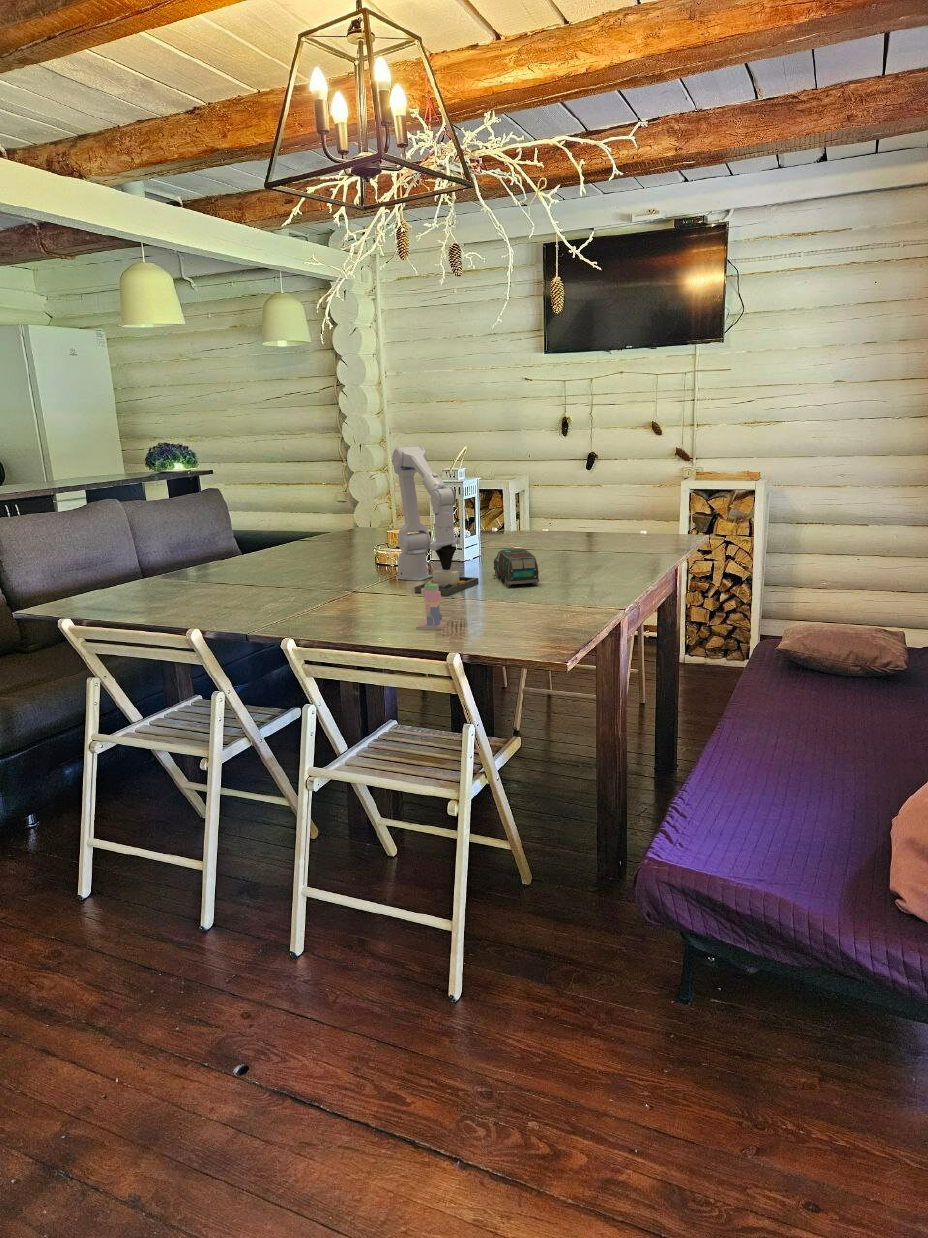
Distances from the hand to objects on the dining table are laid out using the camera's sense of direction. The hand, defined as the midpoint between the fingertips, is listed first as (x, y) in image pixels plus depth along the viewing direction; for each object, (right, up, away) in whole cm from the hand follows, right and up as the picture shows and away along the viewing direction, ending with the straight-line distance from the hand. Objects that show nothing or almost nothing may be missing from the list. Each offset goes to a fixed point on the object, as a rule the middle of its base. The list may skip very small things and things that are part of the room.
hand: (446, 569), depth 268 cm
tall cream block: (0, -5, +2) cm, 6 cm away
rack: (0, -6, +1) cm, 6 cm away
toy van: (+23, -3, +10) cm, 25 cm away
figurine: (-3, -18, -45) cm, 48 cm away
